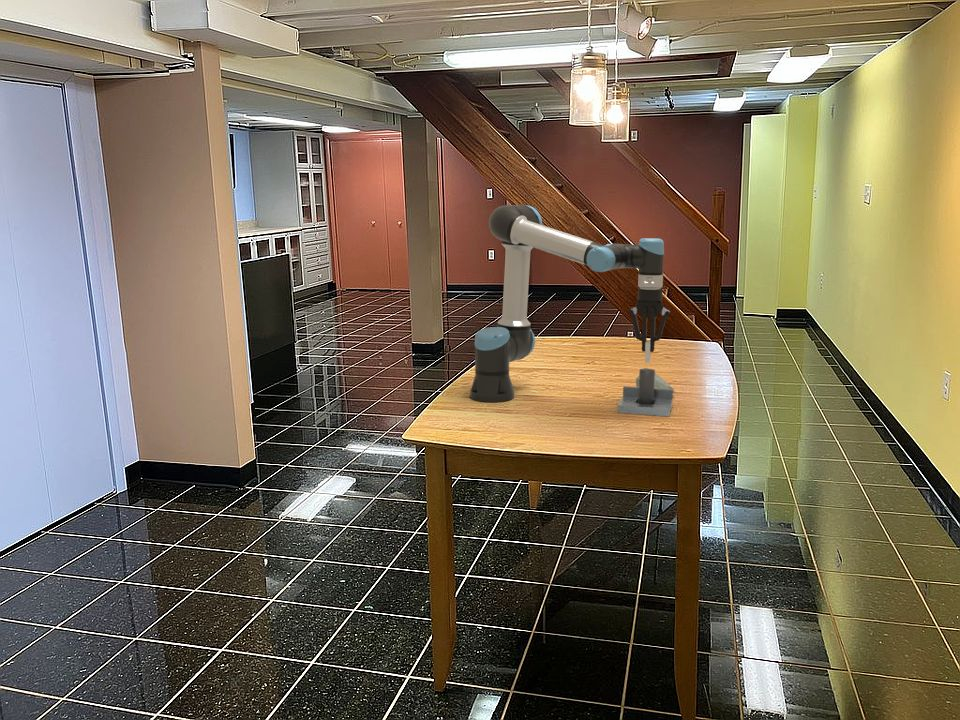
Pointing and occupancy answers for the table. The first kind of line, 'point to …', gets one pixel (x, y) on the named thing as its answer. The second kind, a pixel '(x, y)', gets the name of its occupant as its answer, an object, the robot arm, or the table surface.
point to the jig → (658, 408)
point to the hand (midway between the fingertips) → (647, 361)
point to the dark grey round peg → (646, 386)
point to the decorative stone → (657, 383)
